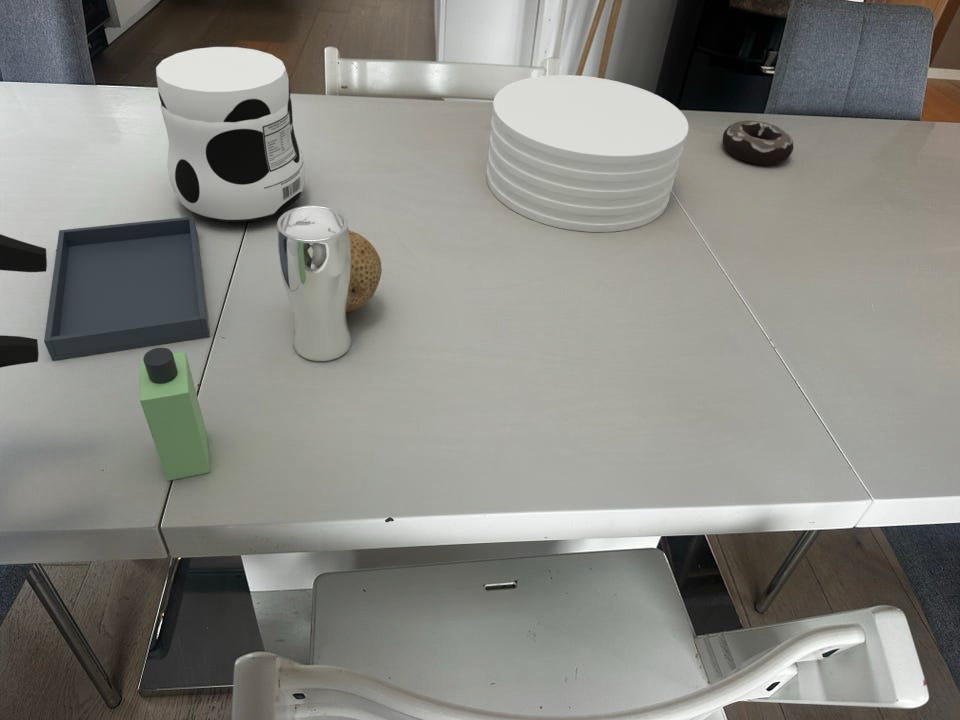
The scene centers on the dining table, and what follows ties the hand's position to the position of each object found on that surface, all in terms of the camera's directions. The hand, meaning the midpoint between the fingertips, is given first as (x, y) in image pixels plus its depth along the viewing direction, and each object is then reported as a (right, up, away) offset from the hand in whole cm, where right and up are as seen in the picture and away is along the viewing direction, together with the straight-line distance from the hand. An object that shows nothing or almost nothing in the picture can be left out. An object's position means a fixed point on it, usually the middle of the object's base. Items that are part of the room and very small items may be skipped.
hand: (42, 303), depth 50 cm
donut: (+78, +32, +73) cm, 112 cm away
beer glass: (+14, -2, +27) cm, 30 cm away
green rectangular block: (+4, -13, +14) cm, 19 cm away
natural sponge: (+15, +1, +31) cm, 35 cm away
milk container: (-2, +18, +48) cm, 51 cm away
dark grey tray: (-9, +4, +31) cm, 33 cm away
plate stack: (+46, +23, +59) cm, 78 cm away
